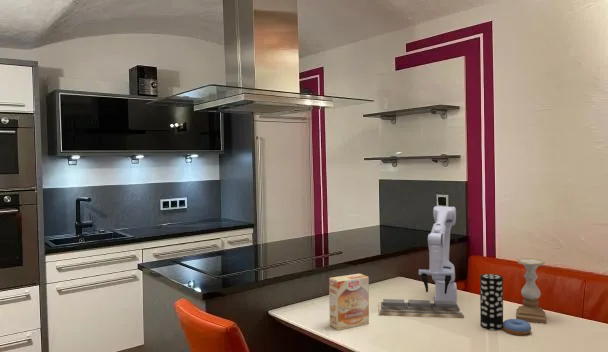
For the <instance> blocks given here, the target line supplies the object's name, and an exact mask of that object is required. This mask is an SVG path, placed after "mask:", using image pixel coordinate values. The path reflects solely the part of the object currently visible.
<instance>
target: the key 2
mask: <svg viewBox="0 0 608 352" xmlns="http://www.w3.org/2000/svg"><path fill="white" fill-rule="evenodd" d="M433 303H434V305H435V307H441V308H457V304H458V303H456V302H455V301H436V300H434V299H433Z"/></svg>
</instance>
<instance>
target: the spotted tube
mask: <svg viewBox="0 0 608 352" xmlns="http://www.w3.org/2000/svg"><path fill="white" fill-rule="evenodd" d="M479 277H480V280H479V281H480V283H479V285H480V292H479V293H480V294H479V296H480V297H479V298H480V300H479V302H480V304H479V305H480V307H479V309H480V314H479V315H480V317H479V318H480V322H479V323H480V327H481V328H482V329H485V330H488V331H501V330H504V329H503V322H504V277H503V276H502V275H500V274H495V273H483V274H481V275H479Z"/></svg>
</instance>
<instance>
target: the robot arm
mask: <svg viewBox="0 0 608 352" xmlns="http://www.w3.org/2000/svg"><path fill="white" fill-rule="evenodd" d="M432 214H433V215H432V217H433V220H434V222H435V223H433V226H432V227H431V232H430V233H428V235H427V244H428V245H427V246H428V251H429V257H428V258H429V260H428V261H429V269H421V268H419V269H418V275H419V276H420V278H421V280H422V282H423V285H424V288H425V293H428V292H429V276H431V280H433V281H434V283H435V291H434V292H435V294H434V295H435V296H434V297H433V301H434V300H436V301H455V302H456V304H458V300H457V299H458V298H457V297H458V296H457V295H458V290H457V289H458V288H457V282H455V279H456V271H455V270H456V269H455V265H454V264H453V263H452V262H451V261H450V243H451V242H450V241H451V229H452V227H453V226H455V225H456V221H457V210H456V207H455V206H441V205H440V206H437V205H435V206H434V207H433V211H432Z"/></svg>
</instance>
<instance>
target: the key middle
mask: <svg viewBox="0 0 608 352" xmlns="http://www.w3.org/2000/svg"><path fill="white" fill-rule="evenodd" d="M430 303H431V301H430V300H428V299H408V304H409V307H431V304H430Z"/></svg>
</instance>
